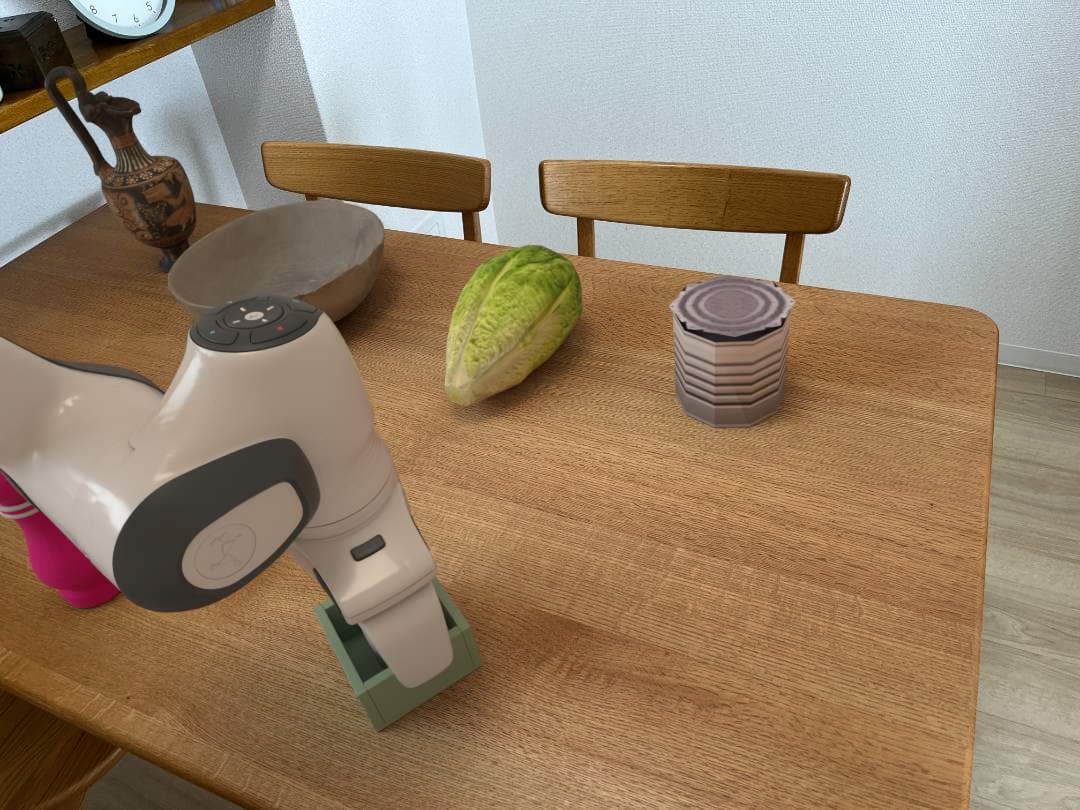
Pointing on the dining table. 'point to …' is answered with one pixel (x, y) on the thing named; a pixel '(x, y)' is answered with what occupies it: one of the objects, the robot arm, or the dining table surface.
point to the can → (731, 349)
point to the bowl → (285, 258)
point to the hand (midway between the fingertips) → (391, 620)
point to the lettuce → (509, 321)
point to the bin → (380, 686)
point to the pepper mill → (55, 553)
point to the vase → (131, 170)
